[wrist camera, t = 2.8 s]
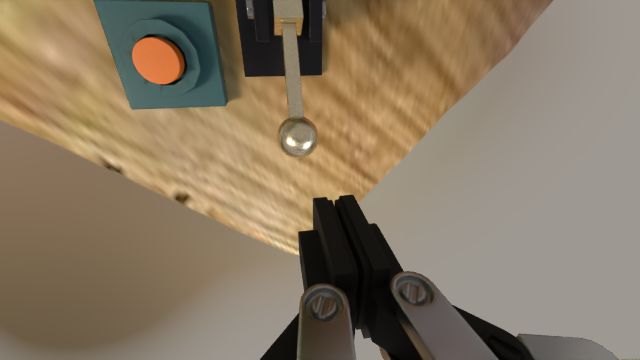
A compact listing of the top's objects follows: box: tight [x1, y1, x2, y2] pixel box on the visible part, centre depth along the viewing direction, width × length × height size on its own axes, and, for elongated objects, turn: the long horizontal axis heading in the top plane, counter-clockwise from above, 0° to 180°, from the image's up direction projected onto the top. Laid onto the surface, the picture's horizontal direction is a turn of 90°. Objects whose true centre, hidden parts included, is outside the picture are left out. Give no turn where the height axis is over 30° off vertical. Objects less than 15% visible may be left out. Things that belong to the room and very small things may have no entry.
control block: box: [94, 0, 228, 109], centre depth 27 cm, size 10×10×4 cm
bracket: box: [235, 0, 326, 77], centre depth 24 cm, size 12×9×12 cm
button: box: [132, 37, 185, 84], centre depth 25 cm, size 4×4×2 cm
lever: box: [271, 0, 319, 158], centre depth 20 cm, size 13×3×3 cm
